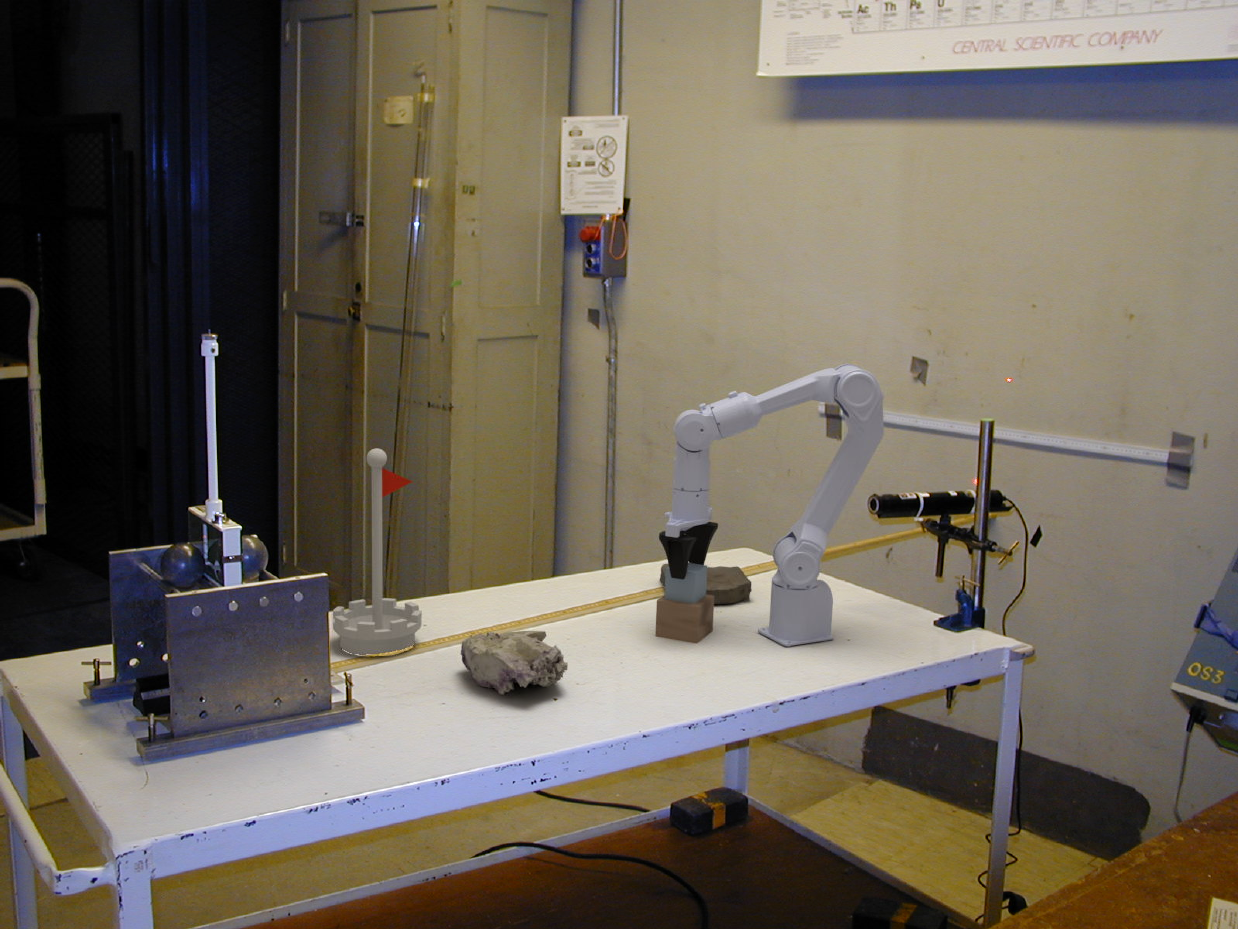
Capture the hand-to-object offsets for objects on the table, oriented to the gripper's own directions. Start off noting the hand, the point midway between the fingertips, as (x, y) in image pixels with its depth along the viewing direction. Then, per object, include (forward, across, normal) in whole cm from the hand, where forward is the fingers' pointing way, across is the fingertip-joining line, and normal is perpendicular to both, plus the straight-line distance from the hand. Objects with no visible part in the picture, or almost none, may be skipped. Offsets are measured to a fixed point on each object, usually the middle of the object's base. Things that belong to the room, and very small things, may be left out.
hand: (687, 572), depth 187 cm
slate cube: (+4, 0, 0) cm, 4 cm away
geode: (+10, +32, -12) cm, 36 cm away
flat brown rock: (+11, -23, -5) cm, 26 cm away
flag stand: (+10, +29, -38) cm, 49 cm away
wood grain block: (+10, 0, 0) cm, 10 cm away
